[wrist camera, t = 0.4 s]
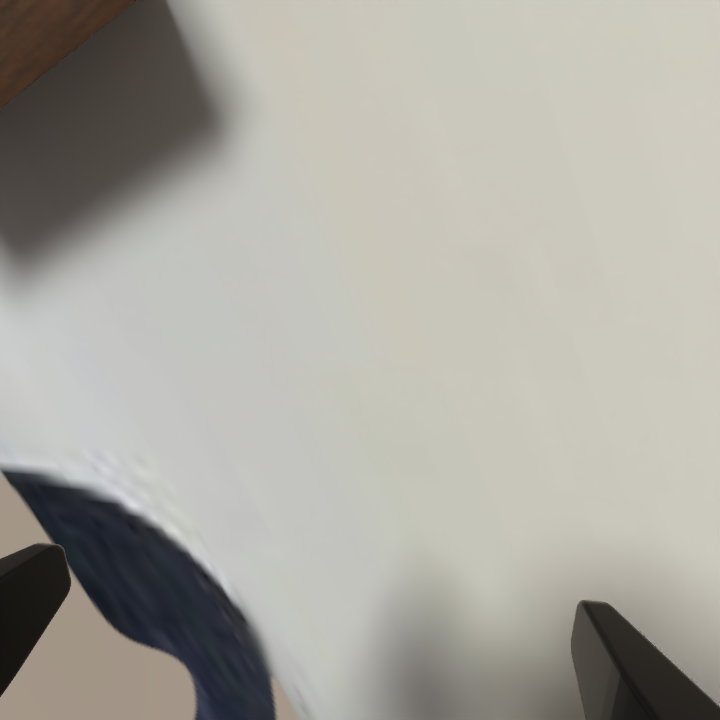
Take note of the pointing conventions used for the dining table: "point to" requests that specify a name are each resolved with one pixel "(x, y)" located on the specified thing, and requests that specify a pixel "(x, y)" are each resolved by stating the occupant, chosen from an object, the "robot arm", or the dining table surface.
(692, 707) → the robot arm
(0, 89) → the tissue box cover
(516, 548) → the dining table surface
